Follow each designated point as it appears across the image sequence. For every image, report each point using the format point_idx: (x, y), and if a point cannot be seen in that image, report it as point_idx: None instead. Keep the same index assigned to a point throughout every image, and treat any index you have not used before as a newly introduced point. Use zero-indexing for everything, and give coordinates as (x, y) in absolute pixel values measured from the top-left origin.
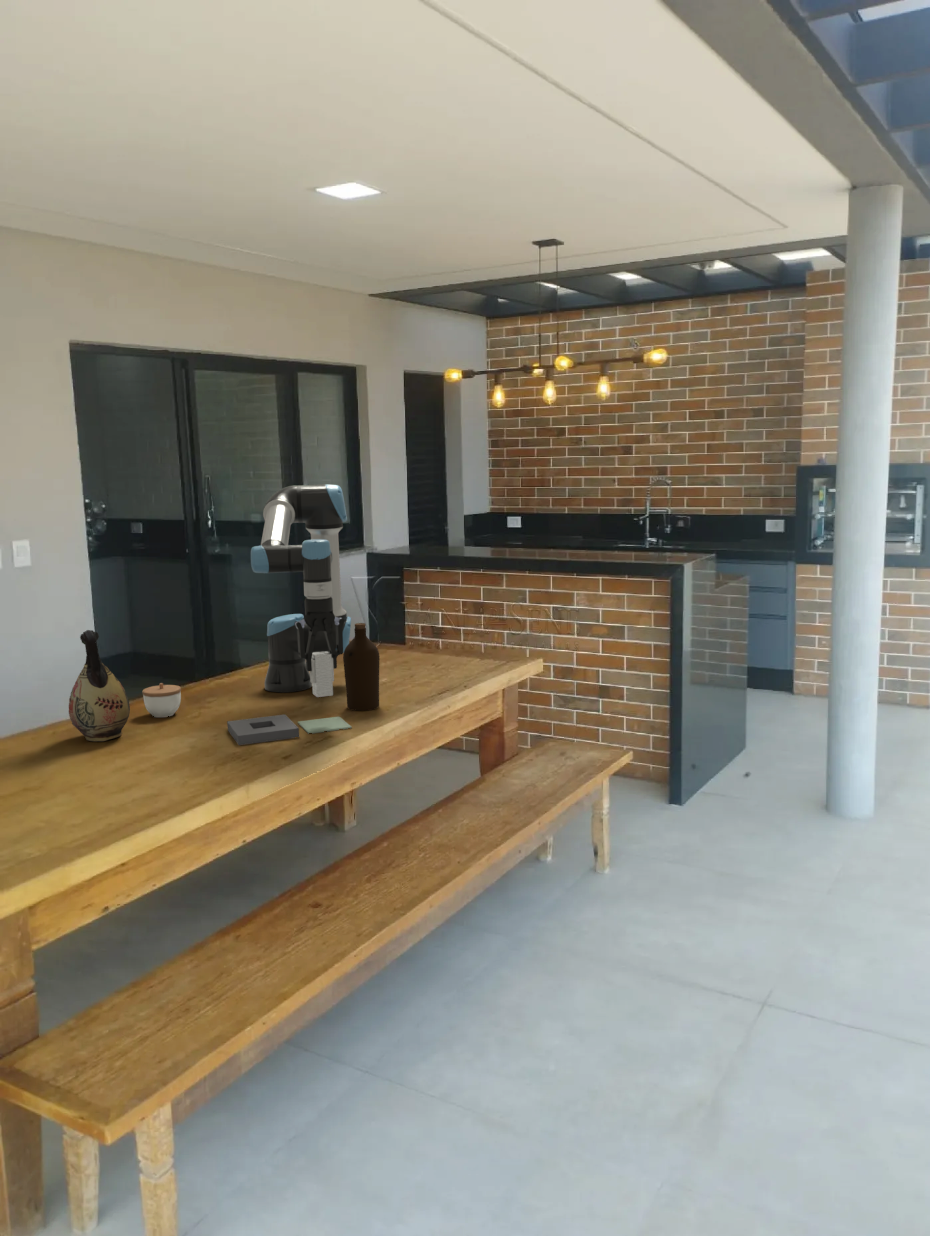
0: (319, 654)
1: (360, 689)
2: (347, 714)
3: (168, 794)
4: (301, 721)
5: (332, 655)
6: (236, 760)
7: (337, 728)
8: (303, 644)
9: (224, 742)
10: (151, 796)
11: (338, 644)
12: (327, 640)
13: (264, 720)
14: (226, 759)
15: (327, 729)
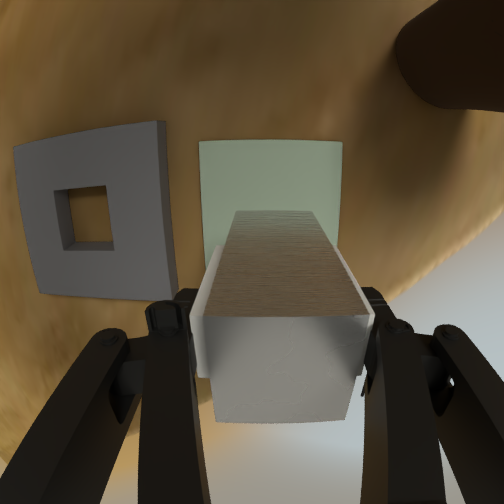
0: (258, 406)
1: (460, 98)
2: (377, 110)
3: (26, 419)
4: (211, 144)
5: (365, 381)
6: (63, 365)
7: None
8: (105, 465)
9: (25, 246)
10: (13, 414)
11: (439, 432)
12: (372, 465)
13: (89, 174)
14: (47, 351)
15: None
